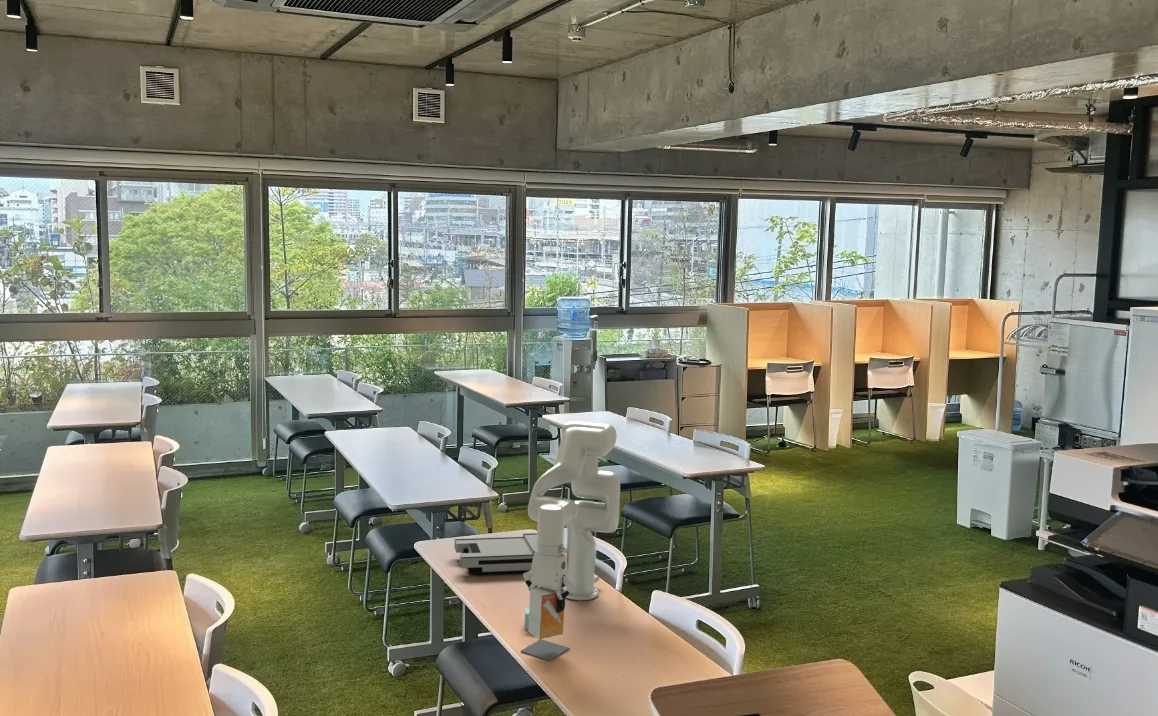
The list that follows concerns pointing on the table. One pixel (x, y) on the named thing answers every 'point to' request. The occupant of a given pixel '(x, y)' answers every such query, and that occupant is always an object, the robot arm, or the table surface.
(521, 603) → the table surface
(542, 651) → the pad
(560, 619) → the small box
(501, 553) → the gray flat machine
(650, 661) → the table surface
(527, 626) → the letter cube
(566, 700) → the table surface
